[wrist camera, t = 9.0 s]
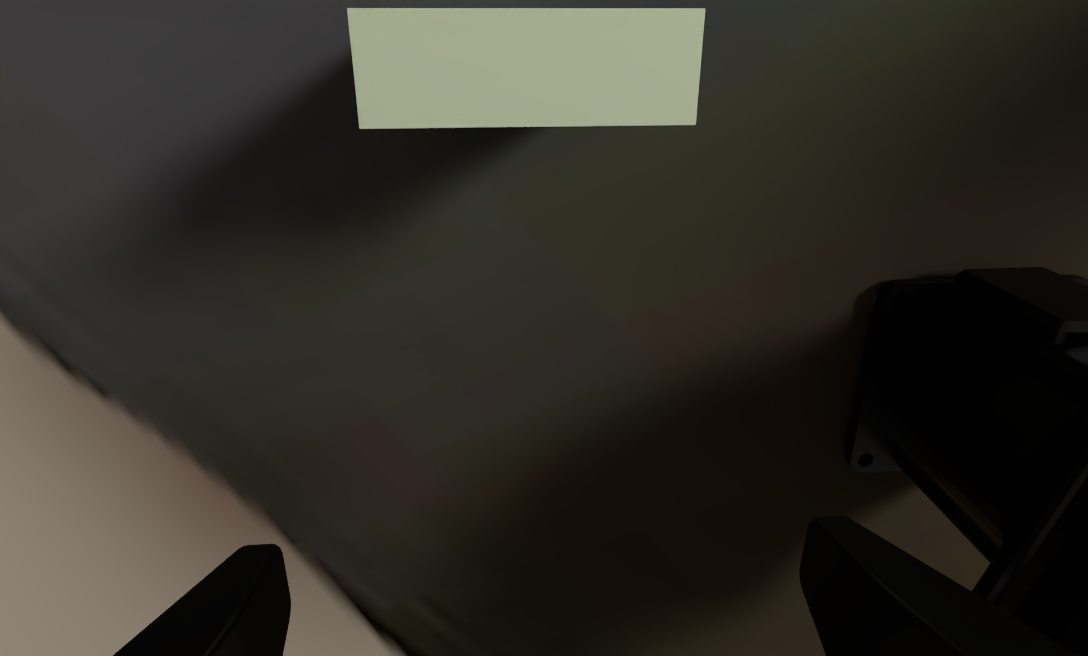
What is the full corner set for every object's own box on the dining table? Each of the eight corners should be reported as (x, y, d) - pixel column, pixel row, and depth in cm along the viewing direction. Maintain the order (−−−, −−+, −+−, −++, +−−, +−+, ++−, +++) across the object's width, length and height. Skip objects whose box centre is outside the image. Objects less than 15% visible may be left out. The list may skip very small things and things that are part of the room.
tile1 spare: (607, 83, 18) (695, 124, 11) (409, 84, 18) (359, 128, 10) (609, 15, 17) (705, 8, 10) (404, 14, 17) (347, 8, 10)
